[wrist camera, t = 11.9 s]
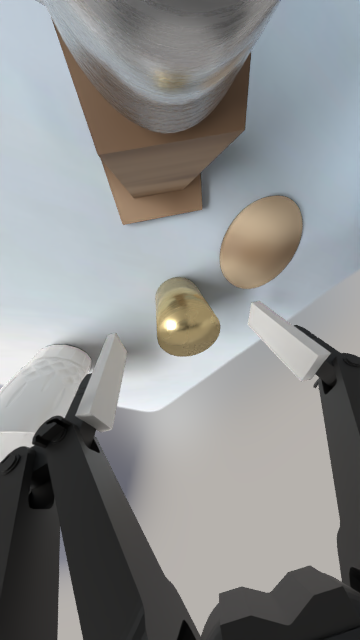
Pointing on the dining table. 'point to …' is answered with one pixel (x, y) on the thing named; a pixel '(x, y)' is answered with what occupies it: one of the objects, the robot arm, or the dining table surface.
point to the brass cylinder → (184, 318)
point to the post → (158, 149)
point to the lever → (161, 53)
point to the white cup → (39, 394)
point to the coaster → (261, 241)
